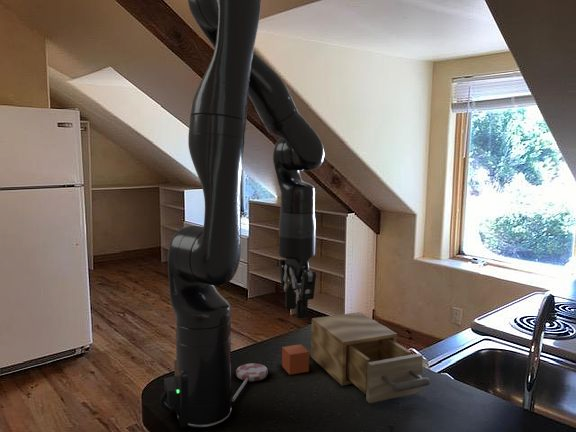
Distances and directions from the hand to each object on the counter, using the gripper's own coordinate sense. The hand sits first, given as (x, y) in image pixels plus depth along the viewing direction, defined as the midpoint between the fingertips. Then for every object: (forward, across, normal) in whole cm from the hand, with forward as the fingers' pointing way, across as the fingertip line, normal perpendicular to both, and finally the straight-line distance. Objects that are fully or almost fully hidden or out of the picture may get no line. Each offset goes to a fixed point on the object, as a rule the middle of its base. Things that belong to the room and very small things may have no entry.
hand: (296, 312), depth 100 cm
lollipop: (+12, -3, +12) cm, 18 cm away
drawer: (+12, -15, -12) cm, 23 cm away
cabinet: (+12, -3, -12) cm, 18 cm away
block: (+12, 0, 0) cm, 12 cm away
